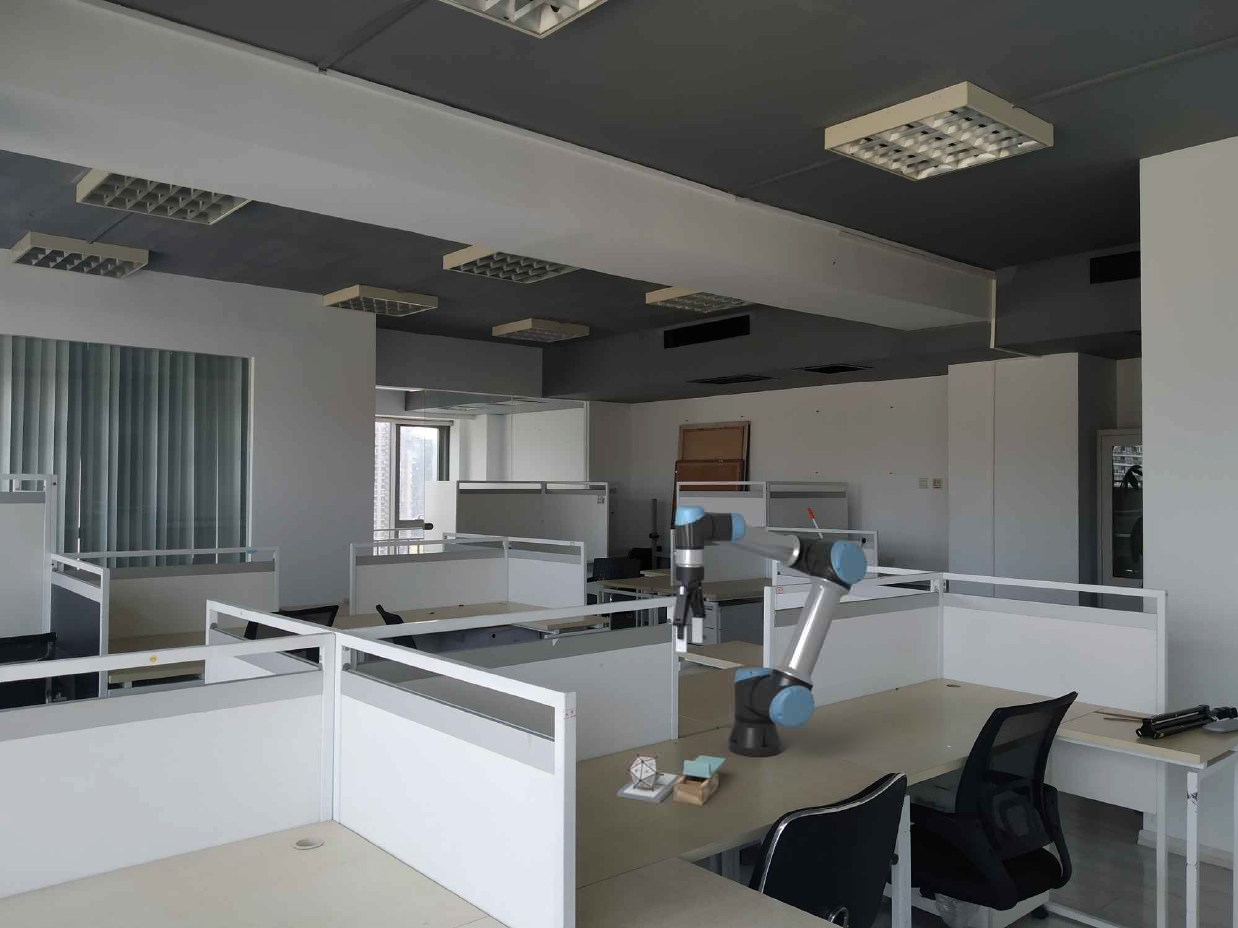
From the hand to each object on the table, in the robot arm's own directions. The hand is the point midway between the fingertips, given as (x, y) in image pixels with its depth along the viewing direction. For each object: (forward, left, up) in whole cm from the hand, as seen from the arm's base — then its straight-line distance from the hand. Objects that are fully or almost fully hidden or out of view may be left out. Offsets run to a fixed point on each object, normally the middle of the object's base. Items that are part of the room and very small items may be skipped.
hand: (689, 646), depth 234 cm
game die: (+17, -6, -33) cm, 37 cm away
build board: (+12, -6, -33) cm, 36 cm away
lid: (+5, +6, -29) cm, 30 cm away
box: (+11, +6, -33) cm, 36 cm away
